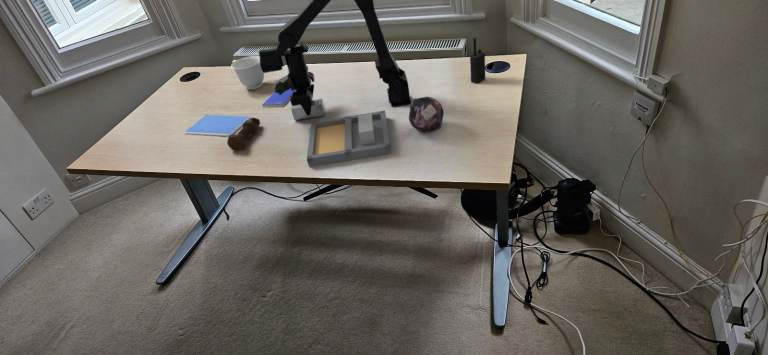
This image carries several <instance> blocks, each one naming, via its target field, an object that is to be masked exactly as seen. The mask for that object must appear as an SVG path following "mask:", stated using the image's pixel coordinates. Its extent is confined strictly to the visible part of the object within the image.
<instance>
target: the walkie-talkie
mask: <svg viewBox="0 0 768 355" xmlns="http://www.w3.org/2000/svg"><path fill="white" fill-rule="evenodd" d="M472 41H473V53H472V54H471V55H470V56H469V61H470V62H469V64H470V66H469V67H470V82H471V83H473V84H480V83H482V82H483V81H485V80H486V56H485V55H486V53H485V52H483V51H482V49H481V48H478V51H477V38H476V37H473V39H472Z"/></svg>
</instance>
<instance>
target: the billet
mask: <svg viewBox="0 0 768 355" xmlns="http://www.w3.org/2000/svg"><path fill="white" fill-rule="evenodd" d="M290 110H291V114H292V117H293V120H294V121H298V120H305V119H309V118H310V119H311V118H317V117H321V116H322V117H323V116H325V115H326V109H325V104H324V101H323V98H319V99H312V106H311V114H310V115H306V113H305V111H304V110H303V108H302V106H301V105H296V106H292V105H291V107H290Z"/></svg>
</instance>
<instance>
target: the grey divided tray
mask: <svg viewBox="0 0 768 355" xmlns="http://www.w3.org/2000/svg"><path fill="white" fill-rule="evenodd" d="M308 138H309V139H308V145H307V153H306V161H307V165H308V167H316V166H322V165H326V164H327V165H328V164H333V163H340V162H345V161H352V160H358V159H364V158H372V157H378V156H384V155H390V154H392V149H391V142H390V136H389V128H388V123H387V117H386V110H381V111H374V112H367V113H362V114H361V113H360V114H354V115H349V116H343V117H338V118H337V117H336V118H331V119H325V120H317V121H312V122H311V123H310V130H309V137H308Z"/></svg>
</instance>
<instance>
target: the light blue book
mask: <svg viewBox="0 0 768 355" xmlns="http://www.w3.org/2000/svg"><path fill="white" fill-rule="evenodd" d="M247 120H251V117H250V116H248V115H220V114H219V115H217V114H205V115H204V116H202V117H201V118H200V119H198V120H197V121H196V122H195V123H194V124H192V125H191V126H189V127H188V128H187V129H186V130H185V131H184V135H195V134H197V135H198V134H199V135H201V136H218V137H229V136H230V135H233V134H235V133H236V134H237V133H238V132H239V131H240V130H241V129H242V128H243V124H244V122H245V121H247ZM199 135H198V136H199Z"/></svg>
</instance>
